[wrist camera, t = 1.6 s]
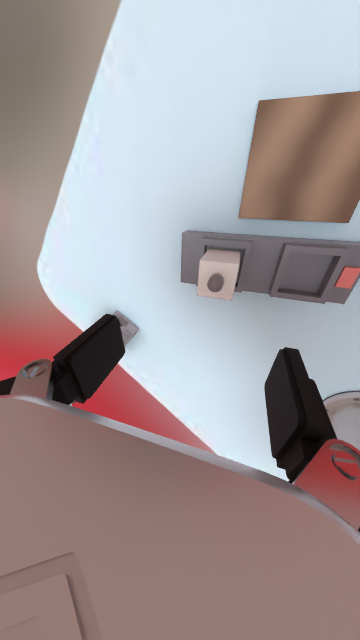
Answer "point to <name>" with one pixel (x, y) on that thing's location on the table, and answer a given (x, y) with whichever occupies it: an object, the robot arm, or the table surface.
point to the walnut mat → (304, 159)
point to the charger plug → (218, 273)
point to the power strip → (281, 264)
